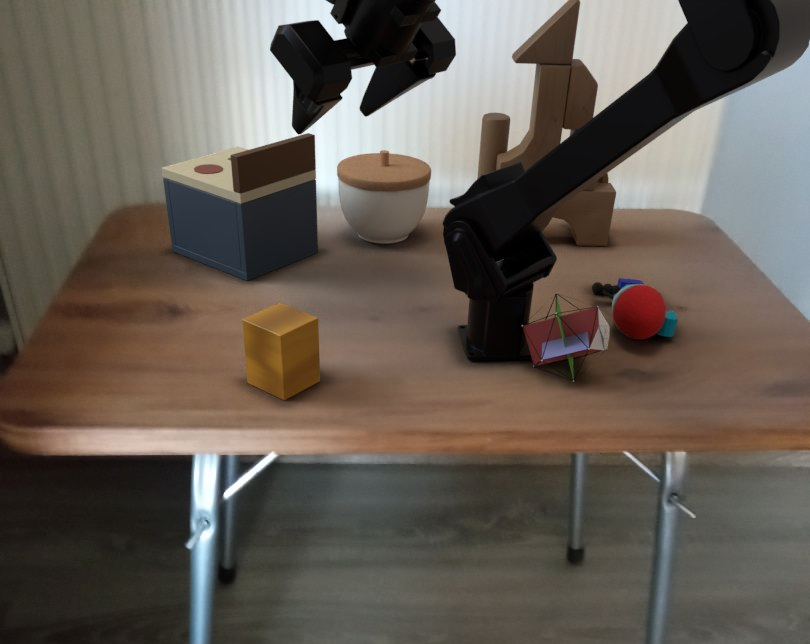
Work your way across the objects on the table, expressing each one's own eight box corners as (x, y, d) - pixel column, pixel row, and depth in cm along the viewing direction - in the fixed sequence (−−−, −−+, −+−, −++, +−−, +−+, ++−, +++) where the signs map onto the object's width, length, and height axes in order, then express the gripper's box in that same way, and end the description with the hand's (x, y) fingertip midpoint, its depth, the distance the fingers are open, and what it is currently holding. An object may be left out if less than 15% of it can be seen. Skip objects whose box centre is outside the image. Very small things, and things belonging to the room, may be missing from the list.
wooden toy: (596, 226, 111) (635, -8, 95) (607, 246, 106) (651, 2, 90) (472, 223, 110) (491, -13, 94) (477, 243, 105) (498, -3, 89)
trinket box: (427, 253, 102) (432, 168, 96) (334, 249, 102) (332, 163, 96) (427, 220, 111) (432, 140, 105) (341, 216, 110) (340, 136, 105)
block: (320, 381, 78) (318, 317, 75) (284, 400, 76) (280, 335, 72) (283, 364, 81) (280, 302, 77) (247, 383, 78) (241, 318, 74)
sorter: (318, 252, 101) (316, 179, 96) (247, 281, 95) (241, 204, 90) (244, 225, 107) (238, 155, 102) (172, 251, 100) (162, 177, 95)
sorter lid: (316, 179, 96) (315, 134, 93) (241, 204, 89) (237, 157, 87) (238, 155, 102) (235, 113, 99) (162, 177, 95) (156, 132, 92)
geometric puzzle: (502, 360, 78) (568, 296, 74) (506, 325, 83) (568, 263, 79) (561, 409, 80) (629, 350, 76) (561, 372, 86) (625, 315, 81)
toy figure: (582, 303, 97) (602, 343, 84) (593, 256, 94) (615, 291, 81) (651, 312, 97) (682, 355, 84) (663, 266, 94) (697, 302, 81)
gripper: (420, -105, 79) (346, 43, 91) (263, -98, 67) (203, 69, 80) (497, -6, 78) (412, 128, 91) (353, 17, 67) (278, 167, 79)
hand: (330, 121), depth 85 cm, fingers open, 9 cm apart
